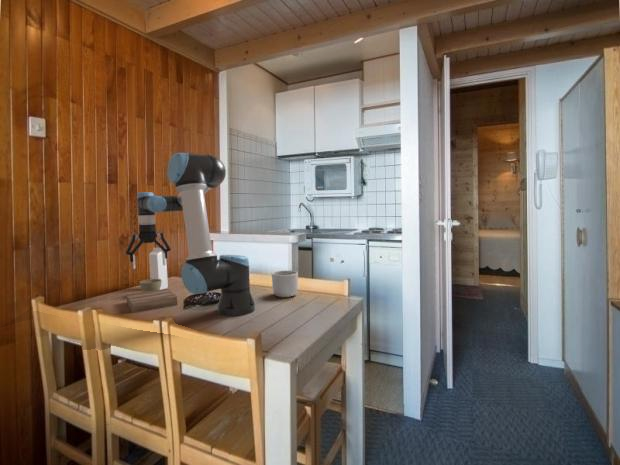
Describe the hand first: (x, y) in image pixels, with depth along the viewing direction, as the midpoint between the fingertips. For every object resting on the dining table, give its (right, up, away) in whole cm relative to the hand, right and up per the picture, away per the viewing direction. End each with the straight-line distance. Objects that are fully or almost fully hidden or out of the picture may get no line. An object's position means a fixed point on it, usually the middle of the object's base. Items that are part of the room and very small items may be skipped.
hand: (149, 266), depth 174 cm
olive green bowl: (+1, -14, +1) cm, 14 cm away
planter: (+68, -13, -6) cm, 69 cm away
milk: (-1, -13, +14) cm, 19 cm away
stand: (+8, -15, -16) cm, 23 cm away
